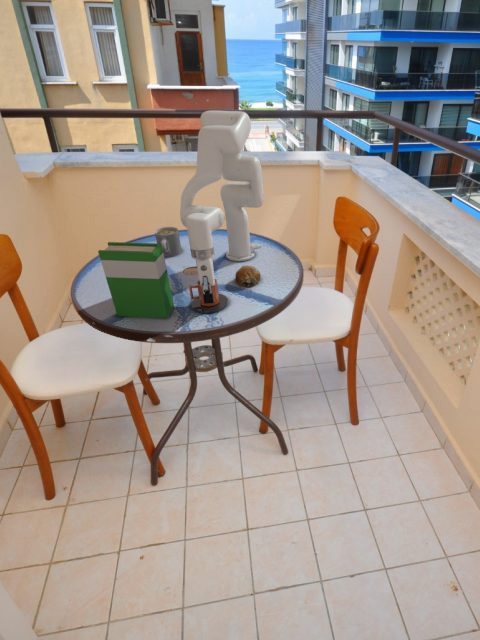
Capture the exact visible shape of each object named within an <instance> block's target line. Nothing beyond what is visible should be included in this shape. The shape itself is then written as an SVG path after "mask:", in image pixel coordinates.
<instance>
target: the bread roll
mask: <svg viewBox="0 0 480 640" xmlns="http://www.w3.org/2000/svg"><path fill="white" fill-rule="evenodd" d="M260 281H261V272H260V271H259V270H258V268H256V267H255V266H253V265H242V266H241V267H240V268H239V269H237V270H236V272H235V283H236V284H237V285H238V286H241V287H253V286H255V285H257V284H259V282H260Z"/></svg>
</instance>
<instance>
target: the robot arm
mask: <svg viewBox="0 0 480 640" xmlns="http://www.w3.org/2000/svg"><path fill="white" fill-rule="evenodd" d="M200 124H201V128H200V129H199V131H198V135H197V136H198V137H197V151H196V152H197V153H196V170H195V173H194V175H193V176H192V177H190V179H189V180H188V181H187V183H186V185H185V186H184V189H183V190H182V193H181V195H180V196H181V197H180V210H179V211H180V212H179V214H180V215H179V216H180V221H181V224H182V225H183V227H185V228H186V230H187V236H188V237H187V238H188V244H189V248H190V256H191V258H192V259H193V260H195V264H196V271H197V276H198V280H199V281H200V286H203V297H204V303H205V304H208V303H214V300H213V293H212V292H211V286H212V285H213V286H214V285H215V279H216V274H215V269H214V261H213V257H214V256H215V250H214V249H215V248H214V242H213V232H215V231H218V230H219V229H220V228H221V227H223V225H224V223H225V225H226V233H227V234H226V235H227V243H228V250H227V251H226V252H225V258H226V259H227V260H229V261H232V262H245V261H249V260H252V259H253V258H254V257H255V255H256V254H255V251H256V250H260V249H262V245H261V244H256V243H251V234H250V233H251V232H250V221H249V215H248V212H247V210H246V209H245V208H248V209H249V208H250V209H253V208H255V209H257V208H261V207H262V206H263V204H264V203H265V191H264V189H265V188H264V178H263V169H262V163H261V161H260V159H259V158H258V157H257V156H255V155H248V154H247V155H244V154H242V151H243V149H244V146H245V145H246V143H247V140H248V138H249V136H250V133H251V130H252V129H251V128H252V127H251V126H252V122H251V118H250V116H249V114H248V113H247V112H245V111H241V110H206V111H204V112H202V113H201V115H200ZM222 178H223V179H224V180H226V181H229V182H225V183H224V184H223V185H222V186H220V187H221V188H220V198H221V202H222V205H223V209H221V208H220V207H217V206H211V205H195V204H194V205H193V203H194V199H195V196H196V195H197V193H199V191H200V190H202V189H204V188H205V187H208V186H209V185H211V184H214V183H217V182H218V181H220V180H221V179H222ZM223 210H224V211H223ZM208 283H209V285H208ZM208 286H209V289H210V290H209V289H208Z"/></svg>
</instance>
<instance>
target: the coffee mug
mask: <svg viewBox="0 0 480 640" xmlns="http://www.w3.org/2000/svg"><path fill="white" fill-rule="evenodd" d="M154 235H155V240H156V244H162V248H163V253H164V258H166V257H167V258H170V257H171V258H172V257H175V256H178V255H180V254H182V252H183V248H182V243H181V239H180V232H179V229H178V228H177V227H175V226H164V227H160V228H157V229H155V230H154Z"/></svg>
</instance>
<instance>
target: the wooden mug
mask: <svg viewBox="0 0 480 640" xmlns="http://www.w3.org/2000/svg"><path fill="white" fill-rule="evenodd" d="M208 285H209V283H208ZM193 289H197V292H198V295H196V296H194V293H193V292H194V291H193ZM208 289H209V286H208ZM188 290H189V295H190V300H194V299H200V304H201V305H203V306H214V305H216V304H218V303H219V294H220V293H219V288H218V279H216V278H215V285H214V286H213V285H212V286H211V292H212V293H213V300H214V303H208V304H205V303H204V297H203V286H200V281H199V279H198V280H197V281H196V285H195V284H194V285H189V286H188ZM209 290H210V289H209Z"/></svg>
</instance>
